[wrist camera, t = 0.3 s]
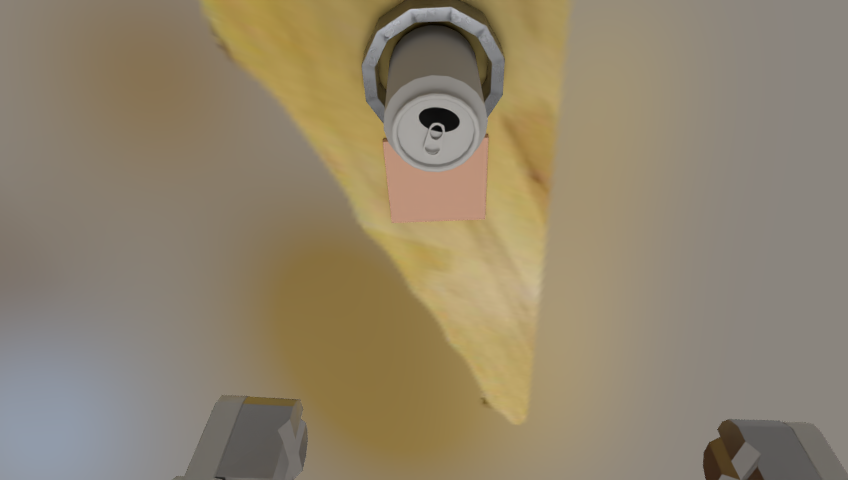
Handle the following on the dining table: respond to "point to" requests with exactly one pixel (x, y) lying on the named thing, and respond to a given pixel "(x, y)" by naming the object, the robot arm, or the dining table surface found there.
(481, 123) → the can
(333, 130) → the dining table surface
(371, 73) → the ring
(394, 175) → the tile
